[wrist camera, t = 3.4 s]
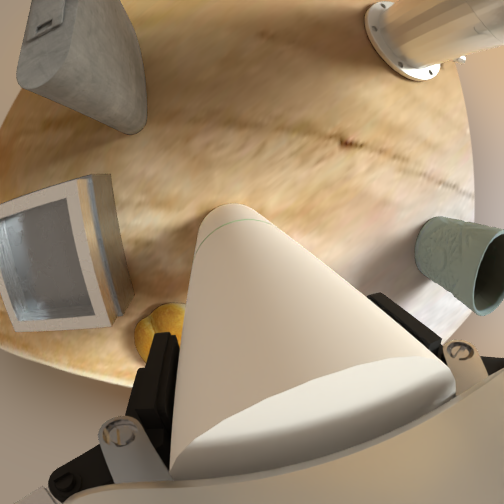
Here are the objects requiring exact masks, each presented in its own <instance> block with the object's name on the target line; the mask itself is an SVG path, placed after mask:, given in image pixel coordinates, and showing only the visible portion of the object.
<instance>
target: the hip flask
mask: <svg viewBox="0 0 504 504" xmlns="http://www.w3.org/2000/svg"><path fill="white" fill-rule="evenodd" d="M16 74H17V81H18V84H19V85H20V86H21V87H22V88H24V89H26V90H29V91H31V92H33V93H36V94H38V95H41V96H43V97H45V98H48V99H50V100H52V101H55V102H57V103H59V104H62V105H64V106H66V107H68V108H71V109H73V110H75V111H77V112H80V113H82V114H84V115H86V116H88V117H91V118H93V119H95V120H97V121H99V122H101V123H103V124H106V125H108V126H110V127H112V128H114V129H116V130H118V131H120V132H122V133H124V134H128V135H132V134H136V133H138V132H139V131H141V130H142V129H143V127H144V126H145V124H146V121H147V93H146V81H145V73H144V66H143V61H142V56H141V51H140V47H139V43H138V39H137V36H136V33H135V30H134V28H133V26H132V23H131V21H130V19H129V17H128V15H127V13H126V11H125V9H124V7H123V5H122V3H121V1H120V0H32V2H31V7H30V12H29V16H28V21H27V25H26V30H25V34H24V39H23V43H22V48H21V52H20V57H19V61H18V66H17V73H16Z"/></svg>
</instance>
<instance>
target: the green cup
mask: <svg viewBox="0 0 504 504" xmlns="http://www.w3.org/2000/svg"><path fill="white" fill-rule="evenodd" d="M415 261H416V265H417V267H418V269H419V270H420V272H421V273H422V274H424V275H425V276H426V277H428V278H429V279H431V280H432V281H433V282H435V283H437V284H439V285H440V286H442V287H443V288H444V289H446V290H447V291H449V292H451V293H452V294H453V295H454V297H455V298H457V299H458V300H459V301H461V302H462V303H463V304H465V305H466V306H467V307H468V308H470V309H471V310H472V311H473V312H474V313H476V314H477V315H479V316H485V315H487V314H490V313H491V312H493V311H494V310H495V309H496V308H497V307H498V306H499V305H500V303H501V302H502V301H503V299H504V229H499V228H495V227H489V226H485V225H481V224H477V223H472V222H464V221H462V220H457V219H451V218H446V217H435V218H432V219H430V220H429V221H428V222H427V223H426V224H425V225H424V226H423V228H422V229H421V231H420V233H419V235H418V238H417V241H416V245H415Z"/></svg>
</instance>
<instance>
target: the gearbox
mask: <svg viewBox="0 0 504 504" xmlns="http://www.w3.org/2000/svg"><path fill="white" fill-rule="evenodd" d="M0 293H1V296H2V299H3V302H4V305H5V307H6V310H7V313H8V315H9V318H10V320H11V323H12V325H13V328H14V330H15V332H34V331H56V330H73V329H87V328H100V327H112V325H113V323H114V321H115V320H116V318H117V317H118V316H123V315H124V313H125V311H126V309H127V307H128V306H129V304H130V302H131V300H132V298H133V297H134V295H135V294H134V291H133V287H132V283H131V279H130V275H129V271H128V267H127V263H126V258H125V254H124V249H123V245H122V240H121V235H120V230H119V225H118V219H117V214H116V208H115V202H114V195H113V188H112V181H111V174H91V175H87V176H84V177H80V178H76V179H73V180H69V181H66V182H63V183H59V184H56V185H53V186H50V187H47V188H43V189H40V190H37V191H34V192H32V193H29V194H26V195H23V196H20V197H18V198H15V199H12V200H9V201H7V202H4V203H2V204H0Z"/></svg>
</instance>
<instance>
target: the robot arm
mask: <svg viewBox="0 0 504 504" xmlns="http://www.w3.org/2000/svg"><path fill="white" fill-rule="evenodd" d="M365 28H366V32H367V35H368V37H369V39H370V41H371V43H372V45H373V47H374V48H375V50H376V51H377V52H378V54H379V55H380V56H381V57H382V59H383V60H384V61H385V62H386V63H387V64H388V65H389V66H390V67H392V68H393V69H394V70H395V71H397V72H398V73H399V74H401V75H403V76H405V77H406V78H409V79H412V80H414V81H426V80H429V79H432V78H433V77H435V76H436V75H437V73H438V72H439V69H440V63H443V62H446V61H451V60H452V61H454V62H456V63H458V64H464V63H465V60H466V59H465V55H469V54H472V53H476V52H479V51H483V50H487V49H491V48H494V47H499V46H503V45H504V0H399V1H397V2H396V3H393V2H388V1H381V2H377V3H375V4H373V5H372V6H371V7H370V8H369V9H368V10H367V12H366V14H365ZM367 298H368V299H369V300H370V301H372V302H373V303H374V304H375V305H376V306H378V307H379V308H380V309H381V310H382V311H384V312H385V313H386V314H387V315H388V316H390V317H391V318H392V319H393V320H394V321H396V322H397V323H398V324H399V325H400V326H402V327H403V328H404V329H405V330H406V331H407V332H409V333H410V334H411V335H412V336H413V337H414V338H416V339H417V340H418V341H419V342H420V343H421V344H423V345H424V346H425V347H426V348H427V349H428V350H429V351H431V352H432V353H433V354H434V355H435V356H436V357H437V358H439V359H440V360H441V361H442V362H443V363H444V364H445V365H446V366H448V367H449V368H450V370H451V372H452V374H453V376H454V378H455V383H456V392H455V394H454V397H453V399H452V400H450V401H449V402H447V403H445V404H444V405H442V406H440V407H438V408H437V409H435V410H433V411H431V412H429V413H428V414H426V415H424V416H422V417H420V418H418V419H416V420H414V421H412V422H410V423H408V424H406V425H404V426H402V427H400V428H398V429H395V430H393V431H391V432H389V433H387V434H384V435H382V436H380V437H377V438H375V439H372V440H370V441H367V442H365V443H362V444H359V445H357V446H354V447H351V448H348V449H346V450H343V451H340V452H337V453H334V454H330V455H327V456H324V457H321V458H317V459H314V460H310V461H306V462H302V463H299V464H295V465H290V466H286V467H282V468H277V469H272V470H267V471H262V472H256V473H250V474H243V475H236V476H228V477H220V478H210V479H199V480H181V481H175V480H174V479H173V478H172V476H171V475H170V474H169V470H170V451H171V435H172V422H173V410H174V398H175V388H176V379H177V369H178V361H179V352H180V347H179V344H178V340H177V337H176V335H171V333H170V332H161V333H155V334H154V337H153V340H152V344H151V347H150V351H149V355H148V358H147V362H146V366H145V368H139V369H138V371H137V374H136V377H135V381H134V384H133V388H132V392H131V395H130V399H129V403H128V406H127V410H126V414H125V416H118V417H114V418H112V419H109V420H108V421H106V422H105V423H104V424H103V425H102V426H101V428H100V429H99V433H98V438H99V439H98V440H99V443H100V444H99V445H97V446H95V447H94V448H92V449H90V450H89V451H87V452H85V453H84V454H82V455H80V456H79V457H77V458H75V459H73V460H72V461H70V462H68V463H67V464H65V465H63V466H61V467H59V468H58V469H56V470H55V471H54V472H53V473H52V474H51V476H50V478H49V481H48V487H47V488H44V487H43V486H41V487H40V488H38V489H37V490H35V491H34V492H32V493H30V494H29V495H27V496H25V497H24V498H23V499H21V500H19V501H17V502H16V503H14V504H504V358H495V357H483V356H480V355H479V353H478V351H477V349H476V348H475V346H474V345H473V344H471V343H470V342H467V341H465V340H451V341H449V342H447V343H446V344H445V345H444V346H442V345H441V340H442V338H440V337H439V336H438V335H437V334H435V333H434V332H433V331H431V330H430V329H429V328H428V327H426V326H425V325H424V324H422V323H421V322H420V321H418V320H417V319H416V318H415V317H413V316H412V315H411V314H409V313H408V312H407V311H405V310H404V309H403V308H401V307H400V306H399V305H397V304H396V303H394V302H393V301H392V300H390V299H389V298H388V297H386V296H385V295H384V294H382V293H376V294H372V295H368V296H367Z"/></svg>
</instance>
